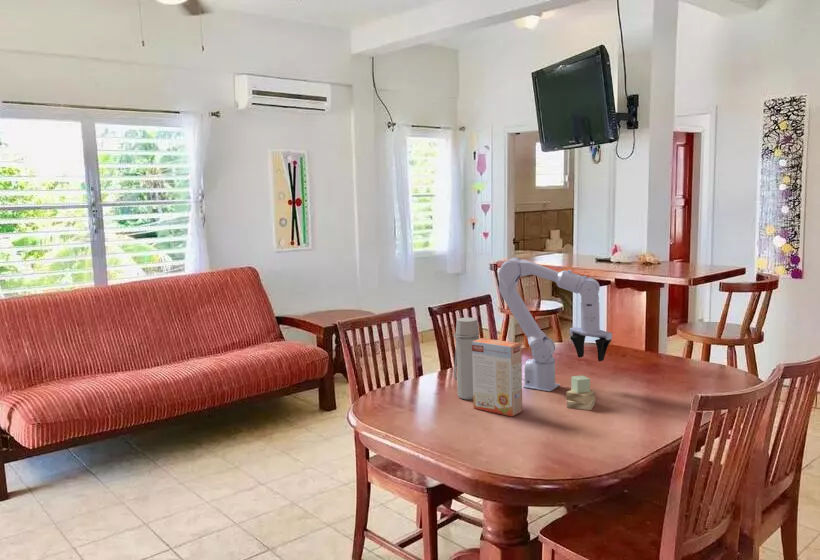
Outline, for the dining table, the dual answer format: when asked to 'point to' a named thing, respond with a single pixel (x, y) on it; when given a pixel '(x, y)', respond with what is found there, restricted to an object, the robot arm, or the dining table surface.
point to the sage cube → (580, 384)
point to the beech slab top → (580, 396)
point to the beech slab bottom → (581, 405)
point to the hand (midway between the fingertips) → (590, 358)
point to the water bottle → (465, 355)
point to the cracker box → (497, 376)
